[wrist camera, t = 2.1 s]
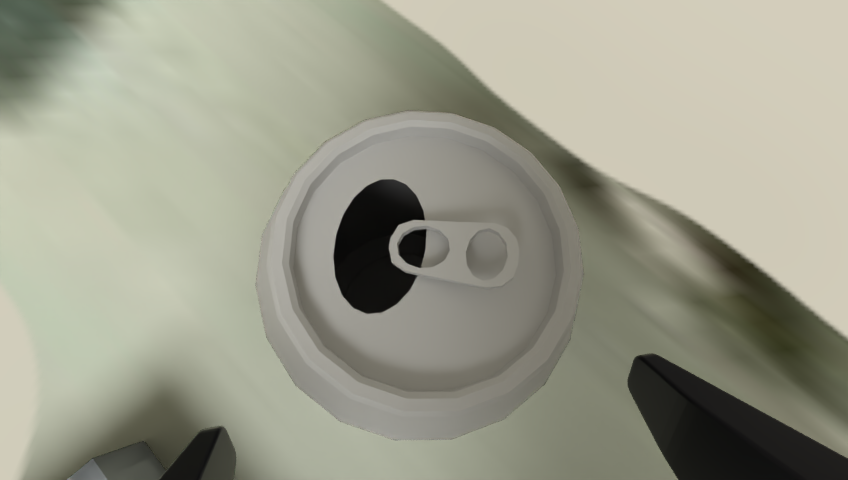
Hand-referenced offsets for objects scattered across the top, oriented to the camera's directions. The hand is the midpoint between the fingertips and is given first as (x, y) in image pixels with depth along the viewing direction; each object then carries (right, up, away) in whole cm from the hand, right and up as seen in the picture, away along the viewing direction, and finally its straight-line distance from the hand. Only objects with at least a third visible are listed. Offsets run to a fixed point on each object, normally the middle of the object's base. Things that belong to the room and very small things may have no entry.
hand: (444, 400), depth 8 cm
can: (-1, 0, +11) cm, 11 cm away
